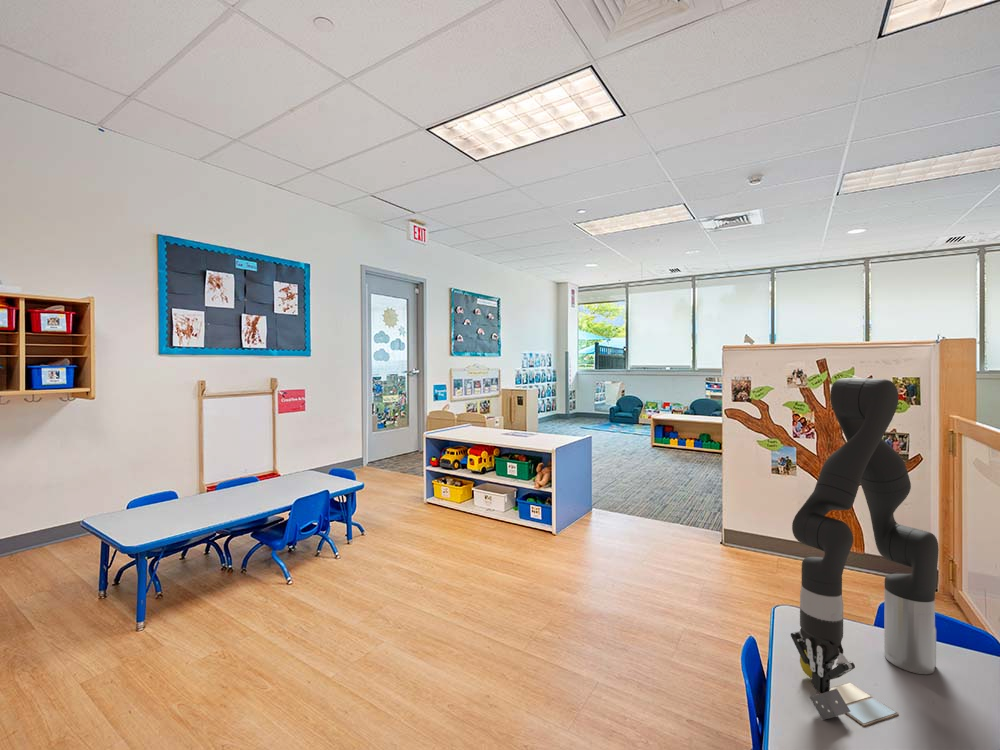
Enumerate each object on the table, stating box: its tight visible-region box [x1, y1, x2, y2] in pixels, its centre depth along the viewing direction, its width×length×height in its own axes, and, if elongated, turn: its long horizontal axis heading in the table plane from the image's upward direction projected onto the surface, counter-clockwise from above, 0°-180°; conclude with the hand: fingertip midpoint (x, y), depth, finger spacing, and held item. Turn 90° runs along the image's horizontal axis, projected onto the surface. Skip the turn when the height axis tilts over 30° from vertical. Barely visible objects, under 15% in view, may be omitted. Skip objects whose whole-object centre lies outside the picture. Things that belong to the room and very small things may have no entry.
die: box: [809, 689, 851, 721], centre depth 96 cm, size 4×4×4 cm
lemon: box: [799, 650, 812, 679], centre depth 107 cm, size 6×6×8 cm
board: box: [816, 681, 899, 727], centre depth 99 cm, size 10×10×1 cm
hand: (820, 690), depth 97 cm, fingers closed
